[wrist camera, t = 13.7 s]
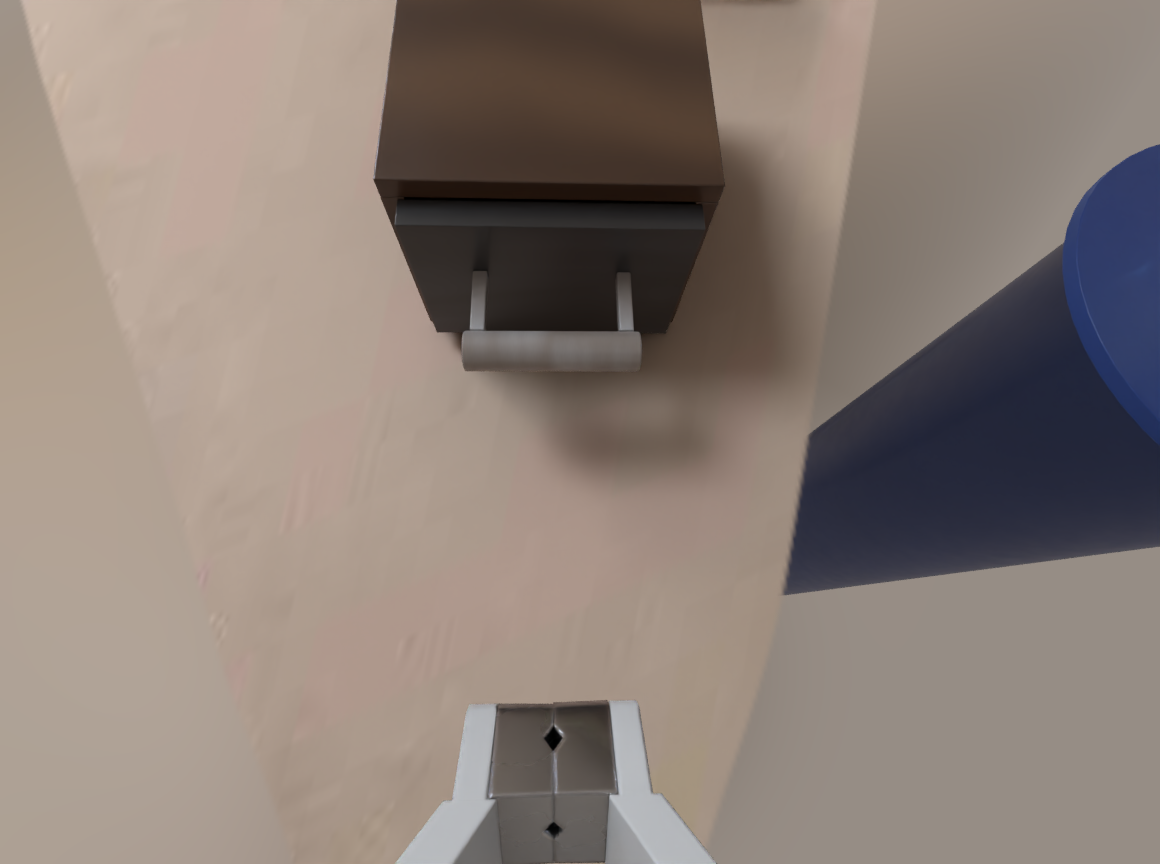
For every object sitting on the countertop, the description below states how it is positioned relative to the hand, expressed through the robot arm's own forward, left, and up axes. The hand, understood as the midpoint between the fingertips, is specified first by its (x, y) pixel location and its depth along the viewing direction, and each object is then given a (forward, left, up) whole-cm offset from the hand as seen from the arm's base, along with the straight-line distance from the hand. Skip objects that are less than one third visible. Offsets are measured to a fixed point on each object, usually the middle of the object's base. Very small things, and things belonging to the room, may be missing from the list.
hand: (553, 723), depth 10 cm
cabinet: (0, -24, -15) cm, 28 cm away
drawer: (0, -20, -14) cm, 24 cm away
